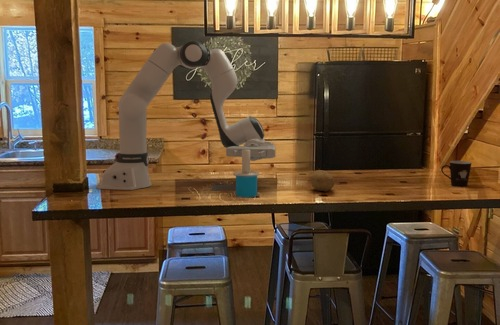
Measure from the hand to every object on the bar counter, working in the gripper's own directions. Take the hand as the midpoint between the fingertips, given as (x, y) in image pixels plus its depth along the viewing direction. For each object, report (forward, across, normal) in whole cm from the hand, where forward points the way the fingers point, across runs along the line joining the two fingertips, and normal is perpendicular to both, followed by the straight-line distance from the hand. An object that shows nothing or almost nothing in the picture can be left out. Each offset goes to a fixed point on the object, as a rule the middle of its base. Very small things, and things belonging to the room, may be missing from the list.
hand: (248, 154), depth 209 cm
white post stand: (+4, 0, +7) cm, 9 cm away
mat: (-7, -9, +15) cm, 19 cm away
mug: (+5, 0, +16) cm, 16 cm away
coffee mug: (-29, +85, +16) cm, 92 cm away
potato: (-8, +29, +16) cm, 34 cm away
